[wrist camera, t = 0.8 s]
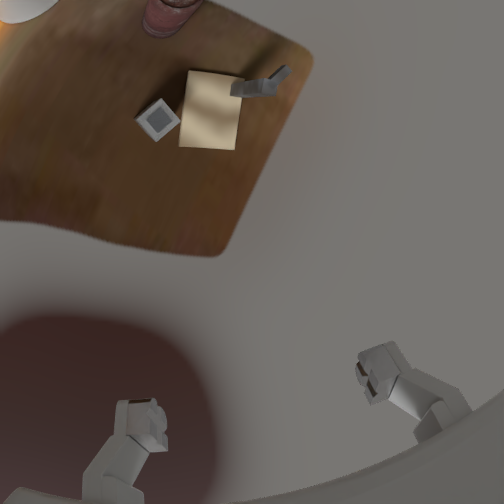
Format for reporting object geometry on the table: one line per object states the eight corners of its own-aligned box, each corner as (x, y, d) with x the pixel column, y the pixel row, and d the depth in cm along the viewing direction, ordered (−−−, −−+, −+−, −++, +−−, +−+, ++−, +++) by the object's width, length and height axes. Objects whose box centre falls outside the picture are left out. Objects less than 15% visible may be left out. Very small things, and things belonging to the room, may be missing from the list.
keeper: (189, 63, 38) (213, 48, 28) (253, 73, 42) (292, 66, 33) (178, 145, 43) (197, 156, 33) (241, 150, 48) (277, 162, 38)
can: (170, -2, 31) (194, -40, 20) (188, 29, 35) (217, -1, 23) (134, 14, 30) (143, -22, 19) (152, 45, 34) (167, 18, 23)
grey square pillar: (133, 118, 38) (136, 119, 31) (154, 101, 38) (161, 98, 31) (150, 137, 41) (156, 142, 34) (170, 120, 41) (181, 121, 34)
